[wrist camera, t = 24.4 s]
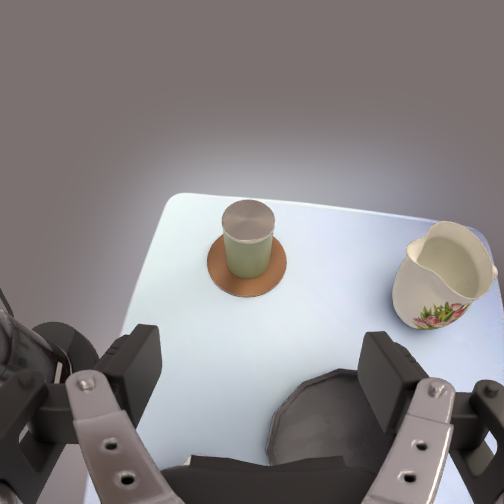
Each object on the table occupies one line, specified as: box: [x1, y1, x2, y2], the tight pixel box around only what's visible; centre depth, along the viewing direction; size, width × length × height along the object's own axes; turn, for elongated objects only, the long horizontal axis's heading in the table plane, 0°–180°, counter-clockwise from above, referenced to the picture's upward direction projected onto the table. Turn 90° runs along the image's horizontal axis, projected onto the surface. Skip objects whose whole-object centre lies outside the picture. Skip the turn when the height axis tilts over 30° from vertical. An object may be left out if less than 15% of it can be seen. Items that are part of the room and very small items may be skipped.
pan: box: [265, 369, 397, 474], centre depth 29 cm, size 27×17×3 cm, turn 78°
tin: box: [222, 200, 275, 279], centre depth 40 cm, size 6×6×9 cm
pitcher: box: [392, 221, 498, 330], centre depth 35 cm, size 11×18×14 cm, turn 88°
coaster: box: [207, 234, 286, 297], centre depth 44 cm, size 11×11×1 cm
